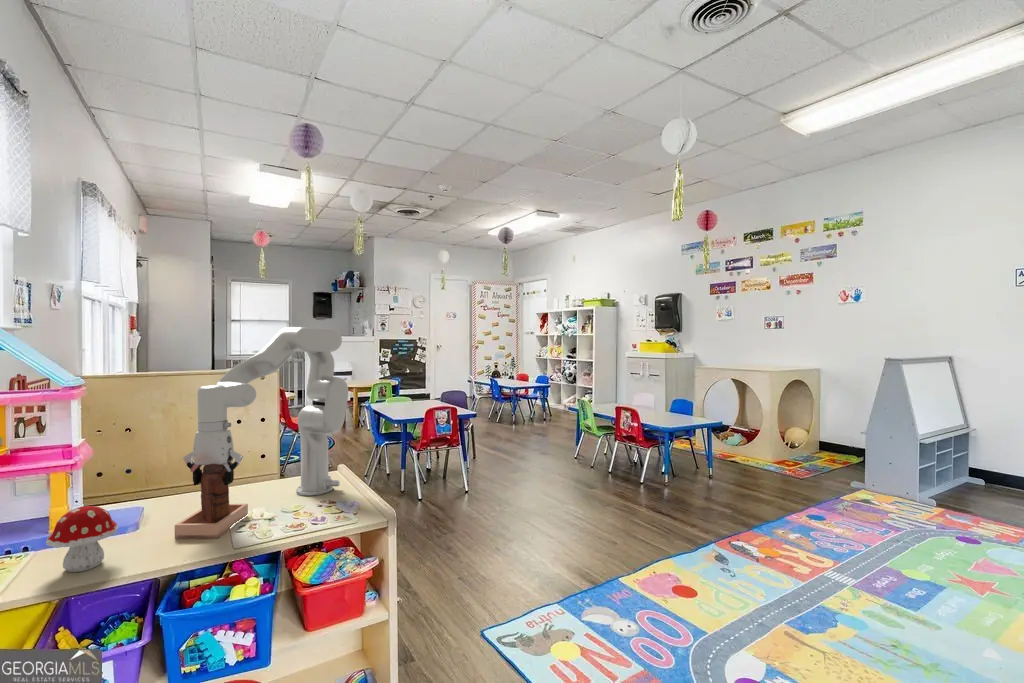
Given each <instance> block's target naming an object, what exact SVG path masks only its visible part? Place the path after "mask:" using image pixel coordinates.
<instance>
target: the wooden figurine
mask: <svg viewBox="0 0 1024 683" xmlns="http://www.w3.org/2000/svg"><path fill="white" fill-rule="evenodd" d="M202 467H203V468H202V475H201V483H200V500H201V501H200V504H201V509H202V518H203V519H204V520H205V521H206V522H208V523H217V522H219V521H220V520H222V519H223V518H225V517H226V516H227V515H229V504H230V496H229V494H230V489H229V485H225V472H226V471H227V470H226V469H225V468H224V467H223V465H218V464H209V465H203V466H202Z"/></svg>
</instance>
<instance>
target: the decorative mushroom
mask: <svg viewBox="0 0 1024 683" xmlns="http://www.w3.org/2000/svg"><path fill="white" fill-rule="evenodd" d="M118 531H119V524H118V523H117V522H116V521H114V520H113V519H112V516H111V514H110V512H109V511H108V510H106V509H105V508H103V507H100V506H96V505H83V506H79V507H76V508H74V509H71V510H69V511H68V512H67V511H66V513H64V514H63V515H62V516H61V517H60V518H59V519H58V520H57V521H56V524H55V527H54V530H52V532H51V533H50V535H49V536H48V537H47V539H46V542H45V544H46V545H47V546H48V547H52V548H56V549H57V548H58V549H59V548H68V550H67V552H66V553H65V556H64V557H63V562H62V568H63V569H64V570H65V571H67V572H68V573H79V572H84V571H89V570H91V569H94V568H95V567H97V566H99V565H101V563H102V562H103V560H104V558H105V550H104V549H103V547H102V546H101V544H100V542H99V541H101V540H104V539H107V538H109V537H111V536H112V535H114V534H115V533H117V532H118Z"/></svg>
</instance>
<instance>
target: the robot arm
mask: <svg viewBox="0 0 1024 683" xmlns="http://www.w3.org/2000/svg"><path fill="white" fill-rule="evenodd" d="M342 343H343V337H342V335H341V332H339V331H338V330H337V329H334V328H331V327H330V328H326V327H325V328H324V327H322V328H321V327H307V326H288V327H282V328H281V329H280V330H278V332H277V333H276V334H274V335H273V337H272V338H271V339H270V340H269V341H268V342H267V343H266V344H264V346H262V347H261V349H260V350H258V352H257V353H256V354H253V356H250V357H249V358H247V359H245V360H243V361H242V362H240V363H238V364H237V365H235V366H233V367H232V368H230V369H229V370H228V371H227V372H226V373H225V374H224V375H223V376H222V377H221V378H219V380H218V381H217V382H216V383H215V384H210V385H203V386H200V387H198V388H197V431H196V432H195V435H194V440H193V447H192V452H190V453H188V454H186V455H185V456H183V458H182V460H183V461H184V463H185V464H186V467H188V468H189V469H190V472H191V473H192V483H193V486H198V485H201V475H202V472H203V468H202V467H203V466H205V465H209V464H218V465H223V467H224V468H225V469H226V470H227V471H226V472H225V485H228V486H229V485H230V484H232V483H233V482H234V479H235V478H234V477H235V474H234V471H235V469H236V468H237V467H238V466H239V465H240V463H241V461H242V459H243V458H244V456H243V455H242V454H240V453H238V452H236V451H235V450H234V440H233V437H232V436H233V435H232V432H231V430H230V429H228V428H231V427H232V423H231V422H229V420H228V408H244V407H247V406H250V405H251V404H253V403H254V402H255V400H256V398H257V390H256V389H255V387H254V386H253V385H251V384H249V383H250V382H253V381H254V380H256V379H259V378H262V377H265V376H269V375H272V374H274V373H276V372H277V371H279V370H280V369H281V367H282V366H283V365H284V364H285V363H286V362H287V361H288V360H289V359H290V357H292V356H293V355H294V354H295V353H296V352H303V353H304V352H306V353H307V355H308V357H309V363H310V364H309V365H310V367H309V372H308V373H309V374H308V379H307V386H306V396H307V398H308V399H310V400H311V401H314V402H319V403H324V405H317V404H311V405H306V406H304V407H302V408H301V410H300V411H298V415H297V426H298V431H299V435H300V436H299V437H300V486H298V487H297V488H296V491H295V492H296V494H297V495H299V496H308V497H309V496H311V497H312V496H319V495H323V494H327V493H330V492H331V491H332V490H333V488H334V487H340V486H341V485H340V482H341V481H340V480H339V479H332V476H331V475H329V439H328V436H327V434H336V433H338V432H340V431H341V429H342V428H343V426H344V423H345V418H346V412H347V405H348V399H349V386H348V383H347V382H346V380H345V379H344V378H341V377H338V376H337V377H336V376H334V374H335V365H336V364H335V359H334V356H333V354H332V352H333V353H334V352H335V351H337V350H338V349H340V347H341V346H342Z"/></svg>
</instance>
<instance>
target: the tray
mask: <svg viewBox="0 0 1024 683" xmlns="http://www.w3.org/2000/svg"><path fill="white" fill-rule="evenodd" d="M248 506H249V505H248V503H229V515H227V516H226V517H225V518H223V519H222V520H220V521H219V522H217V523H208V522H206V521H205V520H204V519H203V518H202V508H200V509H199V510H197V511H196V512H194V513H192V514H190V515H189V516H187V517H185V518H184V519H182V520H180V521H179V522H176V523H175V524H174V540H189V539H190V540H202V539H204V540H207V539H208V540H215V538H217V539H220V538H221V537H222V536H224V533H225V534H226V533H227V532H228V530H229V529H230V527H231V526H232V525H233V524H234V523H236V522H237V521H239V520H240V519H242V518H243V517H245V516H246V515H247V514H248V515H249V507H248ZM230 530H231V529H230ZM230 530H229V531H230ZM220 536H221V537H220ZM213 538H214V539H213Z"/></svg>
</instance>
